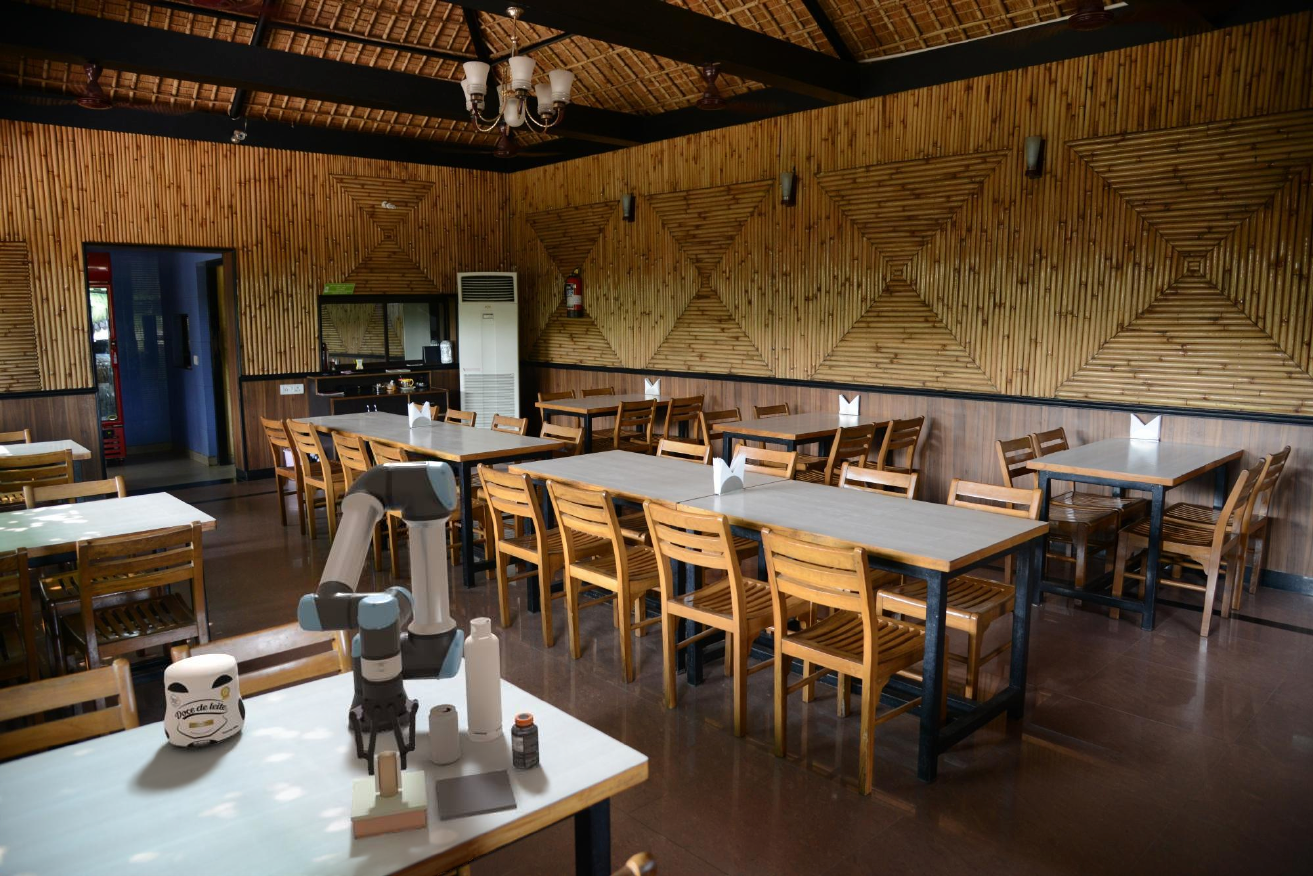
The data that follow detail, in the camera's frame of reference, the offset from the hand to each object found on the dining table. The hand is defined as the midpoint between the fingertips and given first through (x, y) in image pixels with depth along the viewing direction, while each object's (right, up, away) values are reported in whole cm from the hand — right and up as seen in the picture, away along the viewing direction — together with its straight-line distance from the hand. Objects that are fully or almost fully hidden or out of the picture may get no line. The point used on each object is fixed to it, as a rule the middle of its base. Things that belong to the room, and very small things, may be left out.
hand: (388, 786), depth 176 cm
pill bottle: (+24, -3, +21) cm, 32 cm away
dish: (0, -6, +1) cm, 6 cm away
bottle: (+12, -2, +36) cm, 38 cm away
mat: (+16, -5, +8) cm, 18 cm away
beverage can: (+6, -3, +23) cm, 24 cm away
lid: (0, -2, 0) cm, 2 cm away
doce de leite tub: (-55, -3, +36) cm, 66 cm away
